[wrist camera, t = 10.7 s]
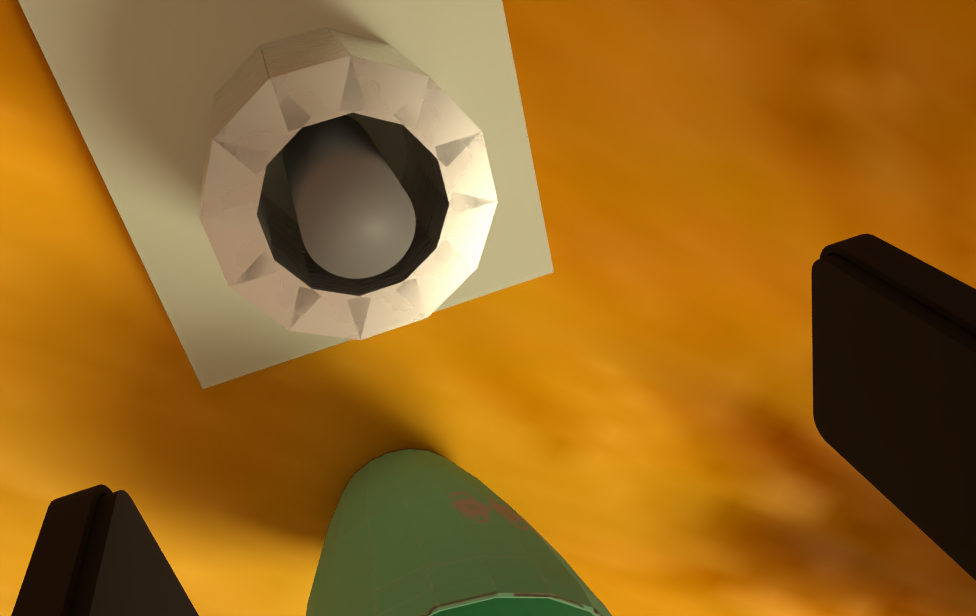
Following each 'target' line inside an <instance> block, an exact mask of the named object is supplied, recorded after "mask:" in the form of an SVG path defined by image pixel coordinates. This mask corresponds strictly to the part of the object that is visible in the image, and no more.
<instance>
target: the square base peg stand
mask: <svg viewBox="0 0 976 616" xmlns="http://www.w3.org/2000/svg"><path fill="white" fill-rule="evenodd" d="M18 1H19V4H20V6H21V8H22V10H23V12H24V14H25V16H26V18H27V20H28V22H29V25H30V27H31V29H32V31H33V33H34V35H35V37H36V39H37V41H38V44H39V46H40V48H41V50H42V52H43V54H44V56H45V58H46V60H47V62H48V65H49V67H50V69H51V71H52V73H53V75H54V77H55V79H56V81H57V84H58V86H59V88H60V90H61V92H62V94H63V96H64V98H65V100H66V102H67V105H68V107H69V109H70V111H71V113H72V115H73V117H74V119H75V121H76V123H77V126H78V128H79V130H80V132H81V134H82V136H83V138H84V140H85V142H86V145H87V147H88V149H89V151H90V153H91V155H92V157H93V159H94V161H95V163H96V166H97V168H98V170H99V172H100V174H101V176H102V178H103V180H104V182H105V184H106V187H107V189H108V191H109V193H110V195H111V197H112V199H113V201H114V203H115V206H116V208H117V210H118V212H119V214H120V216H121V218H122V220H123V222H124V224H125V227H126V229H127V231H128V233H129V235H130V237H131V239H132V241H133V243H134V245H135V248H136V250H137V252H138V254H139V256H140V258H141V260H142V262H143V264H144V267H145V269H146V271H147V273H148V275H149V277H150V279H151V281H152V283H153V285H154V288H155V290H156V292H157V294H158V296H159V298H160V300H161V302H162V304H163V306H164V309H165V311H166V313H167V315H168V317H169V319H170V321H171V323H172V325H173V328H174V330H175V332H176V334H177V336H178V338H179V340H180V342H181V344H182V346H183V349H184V351H185V353H186V355H187V357H188V359H189V361H190V363H191V365H192V367H193V370H194V372H195V374H196V376H197V378H198V380H199V382H200V384H201V386H202V389H205V388H208V387H211V386H214V385H217V384H220V383H223V382H226V381H229V380H232V379H235V378H238V377H241V376H244V375H247V374H250V373H253V372H256V371H259V370H262V369H265V368H268V367H271V366H274V365H277V364H280V363H283V362H286V361H289V360H292V359H295V358H298V357H301V356H304V355H307V354H310V353H313V352H316V351H319V350H322V349H325V348H328V347H331V346H334V345H337V344H340V343H343V342H346V341H349V340H352V339H348V338H340V337H333V336H325V335H318V334H311V333H303V332H296V331H289V330H287V329H286V328H285V327H283V326H282V325H280V324H279V323H278V322H276V321H275V320H273V319H272V318H271V317H269V316H268V315H267V314H265V313H264V312H262V311H261V310H260V309H258V308H257V307H256V306H254V305H253V304H251V303H250V302H249V301H247V300H246V299H244V298H243V297H242V296H240V295H239V294H238V293H236V292H235V291H233V290H232V289H231V288H230V287H229V286H228V284H227V281H226V279H225V277H224V274H223V272H222V270H221V267H220V265H219V263H218V260H217V258H216V256H215V253H214V251H213V249H212V246H211V244H210V242H209V239H208V237H207V235H206V232H205V230H204V228H203V225H202V223H201V221H200V203H201V190H202V177H203V163H204V155H205V149H206V143H207V137H208V131H209V125H210V119H211V113H212V108H213V102H214V96H215V94H216V92H217V91H218V90H219V89H220V88H221V87H222V86H223V85H224V84H225V83H226V82H227V80H228V79H229V78H230V77H231V76H232V75H233V74H234V73H235V72H236V71H237V69H238V68H239V67H240V66H241V65H242V64H243V63H244V62H245V61H246V60H247V59H248V57H249V56H250V55H251V54H252V53H253V52H254V51H255V50H256V49H257V48H258V46H259V45H260V46H261V44H265V43H269V42H272V41H276V40H279V39H283V38H287V37H290V36H294V35H298V34H301V33H305V32H308V31H312V30H316V29H319V28H323V27H328V28H332V29H335V30H339V31H342V32H346V33H350V34H353V35H357V36H360V37H364V38H367V39H371V40H374V41H378V42H382V43H385V44H389V45H391V46H392V47H393V48H394V49H396V50H397V51H398V52H400V53H401V54H402V55H403V56H405V57H406V58H407V59H408V60H410V61H411V62H412V63H413V64H415V65H416V66H417V67H418V68H420V69H421V70H422V71H423V72H425V73H426V74H427V75H428V76H430V77H431V78H432V79H433V81H434V82H435V83H436V84H437V85H438V86H439V87H440V88H441V89H442V90H443V91H444V92H445V93H446V94H447V95H448V96H449V97H450V98H451V99H452V100H453V101H454V102H455V104H456V105H457V106H458V107H459V108H460V109H461V110H462V111H463V112H464V113H465V114H466V115H467V116H468V117H469V118H470V119H471V120H472V121H473V122H474V123H475V124H476V126H477V127H478V128H479V129H480V130H481V131H482V133H483V137H484V142H485V146H486V151H487V155H488V160H489V164H490V169H491V173H492V178H493V182H494V187H495V191H496V195H497V200H498V201H497V206H496V209H495V212H494V215H493V218H492V222H491V225H490V228H489V231H488V235H487V238H486V241H485V244H484V248H483V251H482V254H481V257H480V261H479V264H478V267H476V268H477V269H476V270H475V271H474V272H473V273H472V274H471V275H470V276H469V277H468V278H467V279H466V280H465V281H464V282H463V283H462V284H461V285H460V286H459V287H458V288H457V289H456V290H455V291H454V292H453V293H452V294H451V295H450V296H449V297H448V298H447V299H446V300H445V301H444V302H443V303H442V304H441V305H440V306H439V307H438V308H437V309H436V310H435V311H434V312H436V311H439V310H442V309H445V308H448V307H451V306H454V305H457V304H460V303H463V302H466V301H469V300H472V299H475V298H478V297H481V296H484V295H486V294H489V293H492V292H495V291H498V290H501V289H504V288H507V287H510V286H513V285H516V284H519V283H522V282H525V281H528V280H531V279H534V278H537V277H540V276H543V275H546V274H549V273H552V272H554V271H553V266H552V260H551V255H550V250H549V245H548V239H547V234H546V229H545V224H544V218H543V213H542V208H541V203H540V197H539V192H538V187H537V182H536V176H535V171H534V166H533V161H532V155H531V150H530V145H529V139H528V134H527V129H526V124H525V118H524V113H523V108H522V103H521V97H520V92H519V87H518V82H517V76H516V71H515V66H514V61H513V55H512V50H511V45H510V40H509V34H508V29H507V24H506V18H505V13H504V8H503V3H502V0H18ZM408 152H409V151H408V147H407V144H406V140H405V136H404V133H403V129H402V125H401V124H398V123H394V122H390V121H386V120H381V119H377V118H373V117H369V116H365V115H361V114H357V113H350V114H346V115H343V116H339V117H336V118H333V119H329V120H326V121H322V122H319V123H316V124H312V125H309V126H305V127H302V128H301V129H300V130H299V131H298V132H297V133H296V134H295V136H294V137H293V138H292V139H291V140H290V141H289V142H288V143H287V144H286V145H285V146H284V147H283V148H282V149H281V150H280V152H279V153H278V154H277V155H276V156H275V157H274V158H273V159H272V160H271V161H270V162H269V163H268V164H267V165H266V170H265V175H264V180H263V185H262V190H263V193H264V195H265V196H266V197H267V198H268V199H270V200H271V201H272V202H273V203H275V204H276V205H277V206H278V207H279V208H281V209H282V210H283V211H284V212H286V213H287V214H288V215H289V216H290V217H292V218H293V219H294V220H295V221H298V224H299V228H300V232H301V236H302V240H303V243H304V245H305V248H306V250H307V252H308V253H309V255H310V256H311V258H312V259H313V260H314V261H315V262H316V263H317V264H318V265H319V266H320V267H322V268H323V269H325V270H326V271H328V272H330V273H332V274H334V275H337V276H340V277H344V278H352V279H361V278H368V277H372V276H376V275H378V274H381V273H383V272H385V271H387V270H389V269H390V268H391V267H393V266H394V265H395V264H397V263H398V262H399V261H400V260H401V259H402V257H403V256H404V255H405V254H406V252H407V251H408V249H409V247H410V245H411V243H412V240H413V237H414V233H415V226H416V219H415V212H414V208H413V205H412V202H411V200H410V198H409V196H408V195H407V193H406V192H405V190H404V189H403V187H402V186H401V184H400V182H401V179H402V175H403V171H404V167H405V163H406V159H407V156H408Z"/></svg>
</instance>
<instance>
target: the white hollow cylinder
mask: <svg viewBox="0 0 976 616" xmlns="http://www.w3.org/2000/svg"><path fill="white" fill-rule="evenodd" d="M350 113H357V114H361V115H365V116H369V117H373V118H377V119H381V120H386V121H390V122H394V123H398V124H401V125H402V129H403V133H404V136H405V140H406V144H407V147H408V151H409V152H408V156H407V159H406V163H405V167H404V171H403V175H402V179H401V182H400V184H401V186H402V187H403V189H404V190H405V192H406V193H407V195H408V196H409V198H410V200H411V202H412V205H413V208H414V212H415V219H416V226H415V233H414V237H413V240H412V243H411V245H410V247H409V249H408V251H407V252H406V254H405V255H404V256H403V257H402V259H401V260H400V261H399V262H398V263H397V264H395V265H394V266H393V267H391V268H390V269H389V270H387V271H385V272H383V273H381V274H378V275H376V276H372V277H368V278H361V279H352V278H344V277H340V276H337V275H334V274H332V273H330V272H328V271H326V270H325V269H323V268H322V267H320V266H319V265H318V264H317V263H316V262H315V261H314V260H313V259H312V258H311V256H310V255H309V253H308V252H307V250H306V248H305V245H304V243H303V240H302V236H301V232H300V228H299V224H298V221H295V220H294V219H293V218H292V217H290V216H289V215H288V214H287V213H286V212H284V211H283V210H282V209H281V208H279V207H278V206H277V205H276V204H275V203H273V202H272V201H271V200H270V199H268V198H267V197H266V196H265V195H264V193H263V190H262V185H263V180H264V175H265V170H266V165H267V164H268V163H269V162H270V161H271V160H272V159H273V158H274V157H275V156H276V155H277V154H278V153H279V152H280V150H281V149H282V148H283V147H284V146H285V145H286V144H287V143H288V142H289V141H290V140H291V139H292V138H293V137H294V136H295V134H296V133H297V132H298V131H299V130H300V129H301V128H302V127H305V126H309V125H312V124H316V123H319V122H322V121H326V120H329V119H333V118H336V117H339V116H343V115H346V114H350ZM497 201H498V200H497V195H496V191H495V187H494V182H493V178H492V173H491V169H490V164H489V160H488V155H487V151H486V146H485V142H484V137H483V133H482V131H481V130H480V129H479V128H478V127H477V126H476V124H475V123H474V122H473V121H472V120H471V119H470V118H469V117H468V116H467V115H466V114H465V113H464V112H463V111H462V110H461V109H460V108H459V107H458V106H457V105H456V104H455V102H454V101H453V100H452V99H451V98H450V97H449V96H448V95H447V94H446V93H445V92H444V91H443V90H442V89H441V88H440V87H439V86H438V85H437V84H436V83H435V82H434V81H433V79H432V78H431V77H430V76H428V75H427V74H426V73H425V72H423V71H422V70H421V69H420V68H418V67H417V66H416V65H415V64H413V63H412V62H411V61H410V60H408V59H407V58H406V57H405V56H403V55H402V54H401V53H400V52H398V51H397V50H396V49H394V48H393V47H392V46H391V45H389V44H385V43H382V42H378V41H374V40H371V39H367V38H364V37H360V36H357V35H353V34H350V33H346V32H342V31H339V30H335V29H332V28H328V27H323V28H319V29H316V30H312V31H308V32H305V33H301V34H298V35H294V36H290V37H287V38H283V39H279V40H276V41H272V42H269V43H265V44H261V46H260V45H259V46H258V48H257V49H256V50H255V51H254V52H253V53H252V54H251V55H250V56H249V57H248V59H247V60H246V61H245V62H244V63H243V64H242V65H241V66H240V67H239V68H238V69H237V71H236V72H235V73H234V74H233V75H232V76H231V77H230V78H229V79H228V80H227V82H226V83H225V84H224V85H223V86H222V87H221V88H220V89H219V90H218V91H217V92H216V94H215V96H214V102H213V108H212V113H211V119H210V125H209V131H208V137H207V143H206V149H205V155H204V163H203V177H202V190H201V203H200V221H201V223H202V225H203V228H204V230H205V232H206V235H207V237H208V239H209V242H210V244H211V246H212V249H213V251H214V253H215V256H216V258H217V260H218V263H219V265H220V267H221V270H222V272H223V274H224V277H225V279H226V281H227V284H228V286H229V287H230V288H231V289H232V290H233V291H235V292H236V293H238V294H239V295H240V296H242V297H243V298H244V299H246V300H247V301H249V302H250V303H251V304H253V305H254V306H256V307H257V308H258V309H260V310H261V311H262V312H264V313H265V314H267V315H268V316H269V317H271V318H272V319H273V320H275V321H276V322H278V323H279V324H280V325H282V326H283V327H285V328H286V329H287V330H289V331H296V332H303V333H311V334H318V335H325V336H333V337H340V338H348V339H355V340H360V339H361V340H363V339H366V338H369V337H372V336H374V335H377V334H380V333H383V332H386V331H389V330H392V329H395V328H398V327H401V326H404V325H407V324H410V323H413V322H416V321H419V320H422V319H425V318H427V317H429V316H430V315H431V314H432V313H433V312H434V311H435V310H436V309H437V308H438V307H439V306H440V305H441V304H442V303H443V302H444V301H445V300H446V299H447V298H448V297H449V296H450V295H451V294H452V293H453V292H454V291H455V290H456V289H457V288H458V287H459V286H460V285H461V284H462V283H463V282H464V281H465V280H466V279H467V278H468V277H469V276H470V275H471V274H472V273H473V272H474V271H475V270H476V269H477V268H476V267H478V264H479V261H480V257H481V254H482V251H483V248H484V244H485V241H486V238H487V235H488V231H489V228H490V225H491V222H492V218H493V215H494V212H495V209H496V206H497Z"/></svg>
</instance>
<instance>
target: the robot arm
mask: <svg viewBox="0 0 976 616" xmlns="http://www.w3.org/2000/svg"><path fill="white" fill-rule="evenodd" d="M812 344H813V415H814V421H815V424H816V427H817V429H818V431H819V433H820V434H821V436H822V437H823V439H824V440H825V441H826V442H827V443H828V444H829V445H830V446H831V447H833V448H834V449H835V450H836V451H837V452H838V453H839V454H840V455H841V456H842V457H843V458H844V459H845V460H847V461H848V462H849V463H850V464H851V465H852V466H853V467H854V468H855V469H856V470H857V471H858V472H859V473H861V474H862V475H863V476H864V477H865V478H866V479H867V480H868V481H869V482H870V483H871V484H872V485H873V486H875V487H876V488H877V489H878V490H879V491H880V492H881V493H882V494H883V495H884V496H885V497H886V498H887V499H889V500H890V501H891V502H892V503H893V504H894V505H895V506H896V507H897V508H898V509H899V510H900V511H901V512H903V513H904V514H905V515H906V516H907V517H908V518H909V519H910V520H911V521H912V522H913V523H914V524H915V525H917V526H918V527H919V528H920V529H921V530H922V531H923V532H924V533H925V534H926V535H927V536H928V537H929V538H931V539H932V540H933V541H934V542H935V543H936V544H937V545H938V546H939V547H940V548H941V549H942V550H943V551H945V552H946V553H947V554H948V555H949V556H950V557H951V558H952V559H953V560H954V561H955V562H956V563H957V564H959V565H960V566H961V567H962V568H963V569H964V570H965V571H966V572H967V573H968V574H969V575H970V576H971V577H973V578H974V579H975V580H976V289H974V288H972V287H971V286H969V285H967V284H965V283H963V282H961V281H959V280H957V279H955V278H953V277H952V276H950V275H948V274H946V273H944V272H942V271H940V270H938V269H936V268H934V267H933V266H931V265H929V264H927V263H925V262H923V261H921V260H919V259H917V258H915V257H914V256H912V255H910V254H908V253H906V252H904V251H902V250H900V249H898V248H896V247H895V246H893V245H891V244H889V243H887V242H885V241H883V240H881V239H879V238H877V237H875V236H873V235H870V234H861V235H858V236H855V237H852V238H849V239H846V240H843V241H840V242H837V243H834V244H831V245H828V246H826V247H825V248H824V249H823V250H822V252H821V255H820V259H819V260H817V261H816V262H814V264H813V266H812ZM11 616H199V615H198V613H197V612H196V610H195V608H194V607H193V605H192V603H191V601H190V600H189V598H188V596H187V594H186V593H185V591H184V589H183V587H182V586H181V584H180V582H179V580H178V579H177V577H176V575H175V573H174V572H173V570H172V568H171V567H170V565H169V563H168V561H167V560H166V558H165V556H164V554H163V553H162V551H161V549H160V547H159V546H158V544H157V542H156V540H155V539H154V537H153V535H152V534H151V532H150V530H149V528H148V527H147V525H146V523H145V521H144V520H143V518H142V516H141V514H140V513H139V511H138V509H137V507H136V506H135V504H134V502H133V501H132V499H131V497H130V496H129V494H128V493H127V492H125V491H123V490H120V491H117V492H114V493H112V491H111V490H110V489H109V488H108V487H107V486H105V485H101V484H100V485H97V486H94V487H91V488H88V489H85V490H82V491H79V492H76V493H73V494H70V495H67V496H64V497H60V498H57V499H55V500H53V501H52V502H51V503H50V505H49V507H48V510H47V513H46V516H45V519H44V521H43V524H42V527H41V530H40V533H39V536H38V539H37V542H36V545H35V548H34V551H33V554H32V557H31V560H30V563H29V566H28V568H27V571H26V574H25V577H24V580H23V583H22V586H21V589H20V592H19V595H18V598H17V601H16V604H15V607H14V610H13V612H12V615H11Z"/></svg>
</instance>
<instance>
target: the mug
mask: <svg viewBox="0 0 976 616" xmlns="http://www.w3.org/2000/svg"><path fill="white" fill-rule="evenodd" d="M306 616H612V615H611V614H610V613H609V611H608V610H607V608H606V607H605V606H604V604H603V603H602V602H601V601H600V600H599V599H598V598H597V597H596V596H595V595H594V594H593V592H592V591H591V590H590V589H589V588H588V587H587V585H586V584H585V583H584V582H583V581H582V580H581V578H580V577H579V576H578V575H577V574H576V573H575V571H574V570H573V569H572V568H571V567H570V566H569V564H568V563H567V562H566V561H565V560H564V558H563V557H562V556H561V555H560V554H559V553H558V552H557V551H556V550H555V549H554V548H553V547H552V546H551V545H550V544H549V543H548V542H547V541H546V540H545V539H544V538H543V537H542V536H541V535H540V534H539V533H538V532H537V531H536V530H535V529H534V528H533V527H532V526H531V525H530V524H529V523H527V522H526V521H525V520H524V519H523V518H522V517H521V516H520V515H519V514H518V513H517V512H516V511H515V510H513V509H512V508H511V507H510V506H509V505H508V504H507V503H505V502H504V501H503V500H502V499H501V498H500V497H498V496H497V495H496V494H495V493H494V492H492V491H491V490H490V489H489V488H488V487H487V486H485V485H484V484H483V483H482V482H481V481H480V480H478V479H477V478H476V477H474V476H473V475H471V474H470V473H468V472H466V471H465V470H463V469H462V468H460V467H459V466H457V465H456V464H454V463H453V462H451V461H450V460H448V459H446V458H445V457H443V456H440V455H438V454H435V453H433V452H431V451H428V450H417V449H405V450H400V451H394V452H389V453H387V454H384V455H382V456H380V457H378V458H376V459H374V460H371V461H370V462H368V463H367V464H366V465H365V466H364V467H362V468H361V469H360V470H359V471H357V472H356V473H355V474H354V475H353V477H352V478H351V480H350V481H349V483H348V484H347V486H346V487H345V489H344V490H343V493H342V495H341V498H340V500H339V503H338V505H337V507H336V510H335V512H334V515H333V517H332V520H331V522H330V524H329V527H328V530H327V534H326V538H325V541H324V545H323V549H322V552H321V556H320V560H319V563H318V567H317V571H316V574H315V578H314V582H313V585H312V589H311V593H310V596H309V600H308V604H307V612H306Z"/></svg>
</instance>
